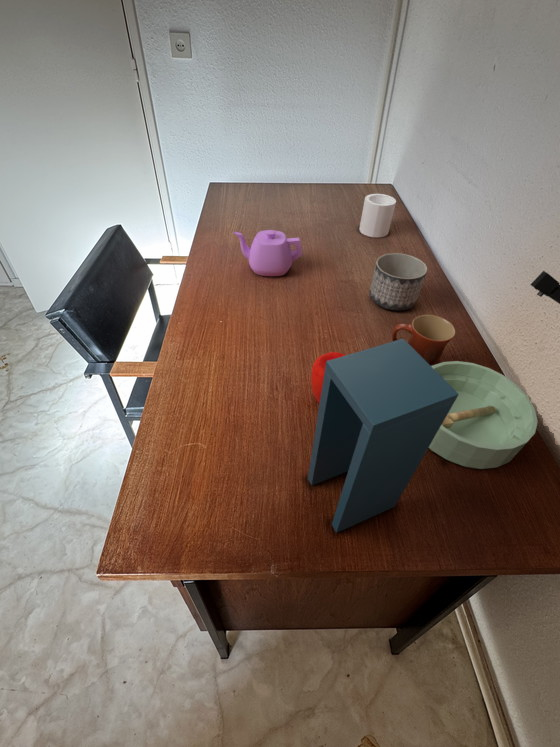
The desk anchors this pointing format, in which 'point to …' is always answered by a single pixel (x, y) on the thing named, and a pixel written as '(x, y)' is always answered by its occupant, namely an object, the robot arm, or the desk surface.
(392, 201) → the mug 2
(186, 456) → the desk surface
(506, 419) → the bowl
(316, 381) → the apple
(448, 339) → the mug
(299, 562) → the desk surface
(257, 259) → the teapot
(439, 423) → the teal arch block
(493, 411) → the wooden mallet
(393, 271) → the planter
